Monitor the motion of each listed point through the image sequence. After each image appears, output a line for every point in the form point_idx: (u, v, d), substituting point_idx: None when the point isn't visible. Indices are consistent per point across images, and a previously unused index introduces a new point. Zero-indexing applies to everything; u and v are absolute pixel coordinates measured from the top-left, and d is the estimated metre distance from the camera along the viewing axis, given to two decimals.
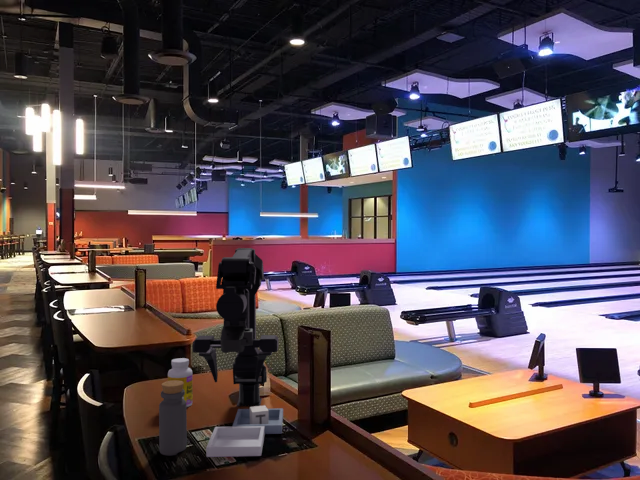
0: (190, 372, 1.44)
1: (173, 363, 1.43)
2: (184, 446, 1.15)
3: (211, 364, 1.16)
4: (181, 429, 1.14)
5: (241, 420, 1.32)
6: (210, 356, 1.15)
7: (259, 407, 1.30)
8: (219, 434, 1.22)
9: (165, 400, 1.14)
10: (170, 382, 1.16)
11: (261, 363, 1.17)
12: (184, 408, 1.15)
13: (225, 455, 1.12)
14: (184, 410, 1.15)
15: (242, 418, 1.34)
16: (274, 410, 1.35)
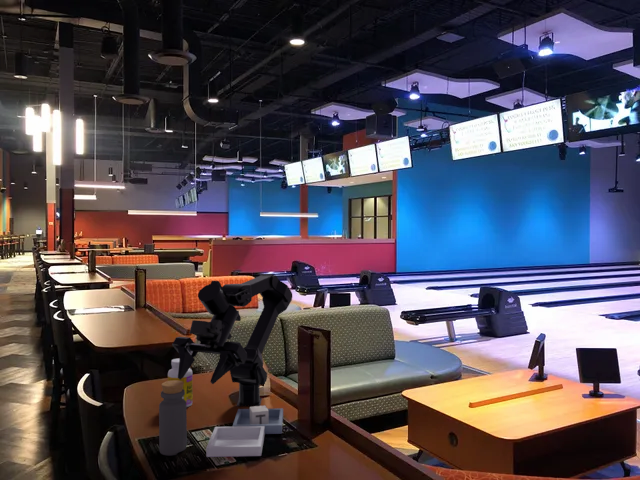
0: (190, 372, 1.44)
1: (173, 363, 1.43)
2: (184, 446, 1.15)
3: (182, 360, 1.27)
4: (181, 429, 1.14)
5: (241, 420, 1.32)
6: (183, 349, 1.27)
7: (259, 407, 1.30)
8: (219, 434, 1.22)
9: (165, 400, 1.14)
10: (170, 382, 1.16)
11: (220, 363, 1.23)
12: (184, 408, 1.15)
13: (225, 455, 1.12)
14: (184, 410, 1.15)
15: (242, 418, 1.34)
16: (274, 410, 1.35)
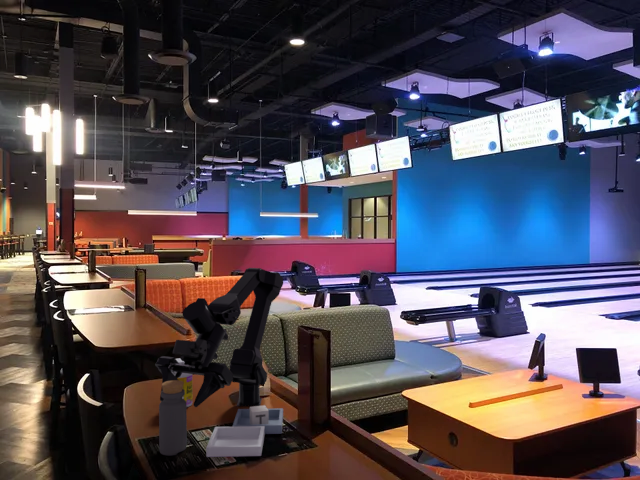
0: None
1: None
2: (184, 446, 1.15)
3: (165, 381, 1.21)
4: (181, 429, 1.14)
5: (241, 420, 1.32)
6: (166, 370, 1.22)
7: (259, 407, 1.30)
8: (219, 434, 1.22)
9: (165, 400, 1.14)
10: (170, 382, 1.16)
11: (204, 385, 1.17)
12: (184, 408, 1.15)
13: (225, 455, 1.12)
14: (184, 410, 1.15)
15: (242, 418, 1.34)
16: (274, 410, 1.35)
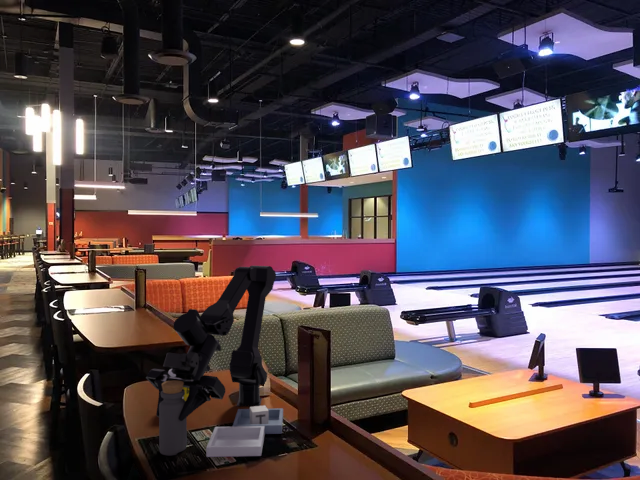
0: None
1: None
2: (184, 446, 1.15)
3: None
4: (181, 429, 1.14)
5: (241, 420, 1.32)
6: None
7: (259, 407, 1.30)
8: (219, 434, 1.22)
9: (165, 400, 1.14)
10: (170, 382, 1.16)
11: (190, 399, 1.15)
12: None
13: (225, 455, 1.12)
14: None
15: (242, 418, 1.34)
16: (274, 410, 1.35)
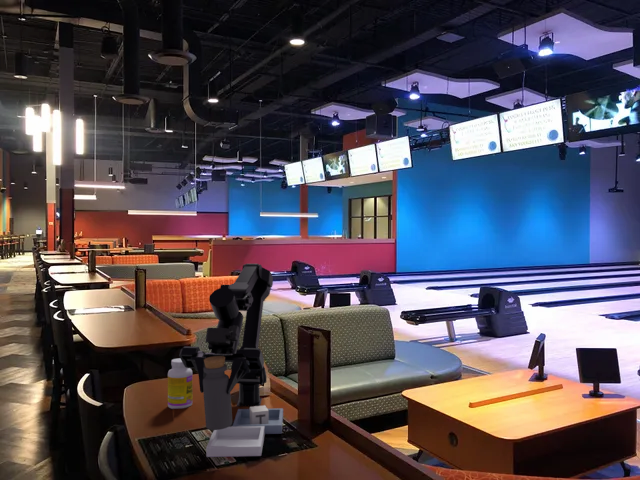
0: (190, 372, 1.44)
1: (173, 363, 1.43)
2: (231, 419, 1.16)
3: (201, 371, 1.17)
4: (229, 402, 1.15)
5: (241, 420, 1.32)
6: (201, 360, 1.18)
7: (259, 407, 1.30)
8: (219, 434, 1.22)
9: (210, 375, 1.14)
10: (211, 358, 1.16)
11: (235, 371, 1.16)
12: None
13: (225, 455, 1.12)
14: None
15: (242, 418, 1.34)
16: (274, 410, 1.35)
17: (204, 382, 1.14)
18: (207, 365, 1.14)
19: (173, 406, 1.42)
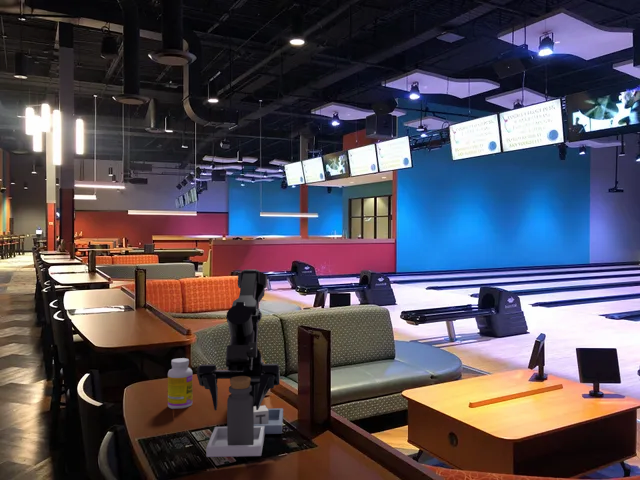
0: (190, 372, 1.44)
1: (173, 363, 1.43)
2: (253, 438, 1.18)
3: (213, 389, 1.18)
4: (252, 422, 1.17)
5: None
6: (213, 377, 1.18)
7: (259, 407, 1.30)
8: (219, 434, 1.22)
9: (237, 396, 1.15)
10: (237, 378, 1.17)
11: (262, 387, 1.18)
12: None
13: (225, 455, 1.12)
14: (253, 403, 1.18)
15: None
16: (274, 410, 1.35)
17: (230, 402, 1.15)
18: (234, 385, 1.15)
19: (173, 406, 1.42)
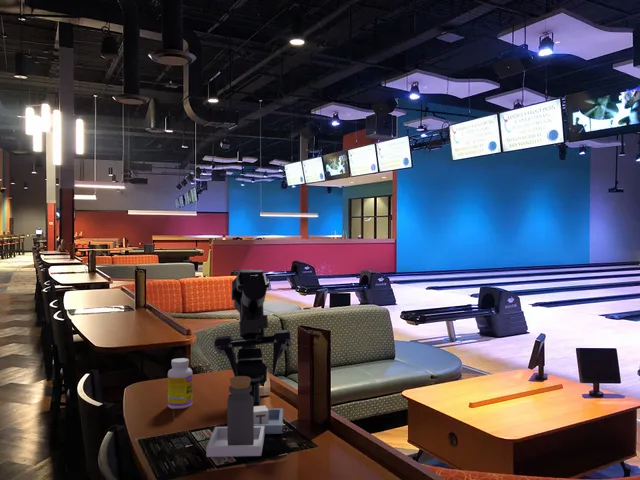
0: (190, 372, 1.44)
1: (173, 363, 1.43)
2: (253, 438, 1.18)
3: (231, 359, 1.27)
4: (252, 422, 1.17)
5: None
6: (230, 349, 1.27)
7: (259, 407, 1.30)
8: (219, 434, 1.22)
9: (237, 396, 1.15)
10: (237, 378, 1.17)
11: (277, 354, 1.28)
12: (253, 401, 1.18)
13: (225, 455, 1.12)
14: (253, 403, 1.18)
15: None
16: (274, 410, 1.35)
17: (230, 402, 1.15)
18: (234, 385, 1.15)
19: (173, 406, 1.42)
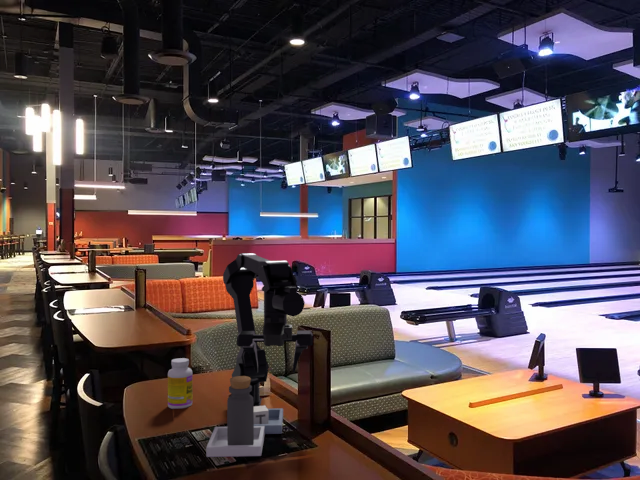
0: (190, 372, 1.44)
1: (173, 363, 1.43)
2: (253, 438, 1.18)
3: (253, 356, 1.30)
4: (252, 422, 1.17)
5: None
6: (253, 349, 1.28)
7: (259, 407, 1.30)
8: (219, 434, 1.22)
9: (237, 396, 1.15)
10: (237, 378, 1.17)
11: (298, 355, 1.30)
12: (253, 401, 1.18)
13: (225, 455, 1.12)
14: (253, 403, 1.18)
15: None
16: (274, 410, 1.35)
17: (230, 402, 1.15)
18: (234, 385, 1.15)
19: (173, 406, 1.42)
